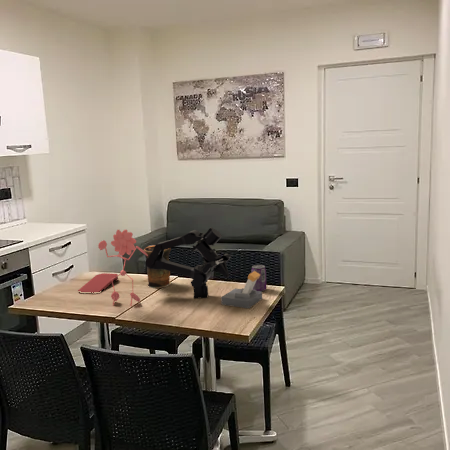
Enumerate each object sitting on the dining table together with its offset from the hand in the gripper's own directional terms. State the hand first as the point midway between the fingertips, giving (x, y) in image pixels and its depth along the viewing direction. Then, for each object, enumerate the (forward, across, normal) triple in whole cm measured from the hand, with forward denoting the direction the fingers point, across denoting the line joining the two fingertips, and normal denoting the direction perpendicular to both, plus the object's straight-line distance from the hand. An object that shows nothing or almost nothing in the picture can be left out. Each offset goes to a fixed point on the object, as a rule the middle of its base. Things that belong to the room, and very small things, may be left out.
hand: (228, 277), depth 223 cm
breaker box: (+12, 0, -3) cm, 13 cm away
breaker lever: (+11, 0, +1) cm, 11 cm away
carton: (-44, +6, -62) cm, 76 cm away
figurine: (-23, +20, -39) cm, 49 cm away
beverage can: (+13, -19, -3) cm, 23 cm away
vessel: (-25, -8, -41) cm, 49 cm away
